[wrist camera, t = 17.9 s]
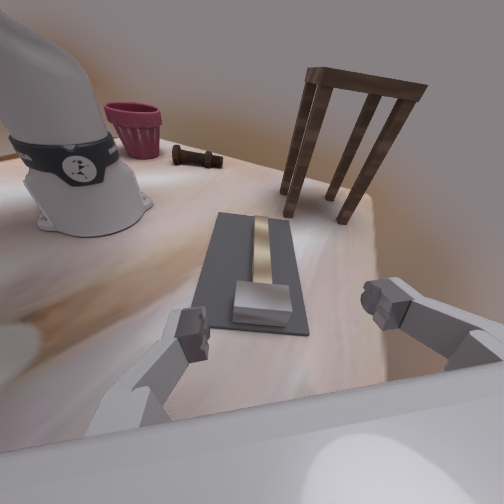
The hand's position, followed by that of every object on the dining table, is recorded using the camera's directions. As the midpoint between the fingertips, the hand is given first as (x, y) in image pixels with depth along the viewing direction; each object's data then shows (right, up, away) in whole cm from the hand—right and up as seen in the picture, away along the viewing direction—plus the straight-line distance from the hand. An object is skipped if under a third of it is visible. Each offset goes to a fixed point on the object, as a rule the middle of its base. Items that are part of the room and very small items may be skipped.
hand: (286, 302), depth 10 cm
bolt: (-19, +30, +53) cm, 64 cm away
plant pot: (-37, +35, +53) cm, 74 cm away
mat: (-2, +1, +25) cm, 25 cm away
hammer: (0, +4, +22) cm, 22 cm away
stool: (+14, +15, +41) cm, 46 cm away
